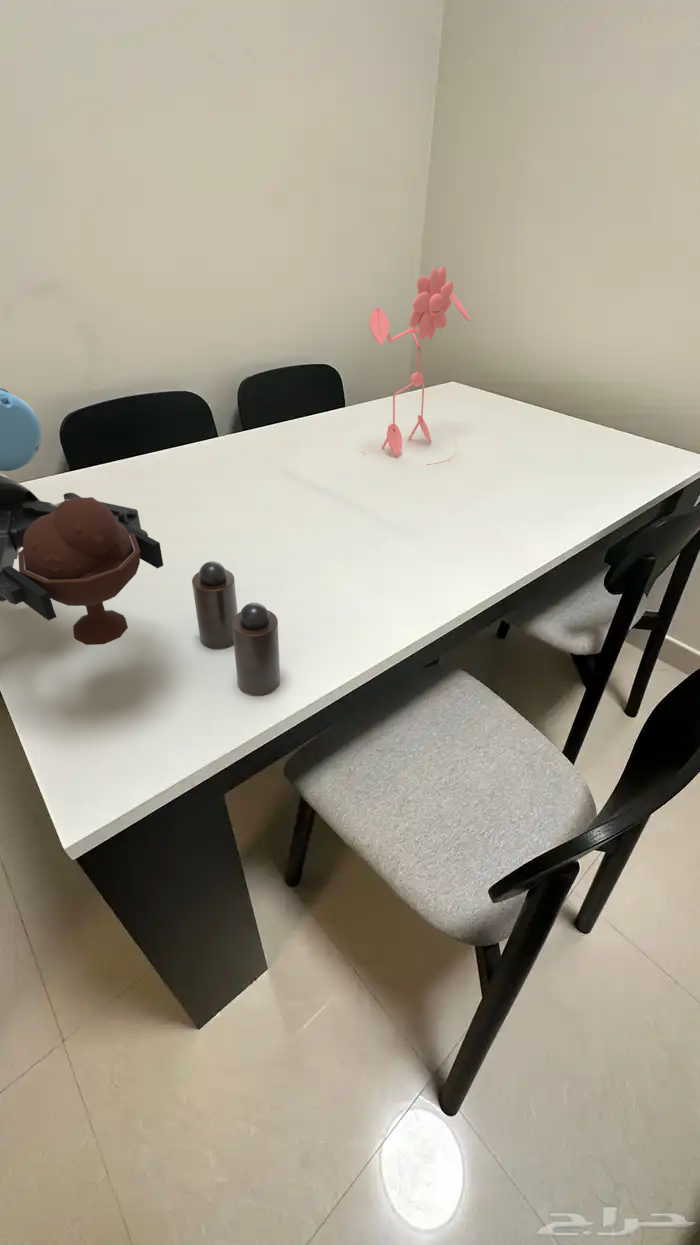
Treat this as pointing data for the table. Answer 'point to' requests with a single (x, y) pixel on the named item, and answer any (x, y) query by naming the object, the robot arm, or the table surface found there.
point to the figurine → (428, 316)
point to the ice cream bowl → (82, 563)
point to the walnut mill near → (256, 649)
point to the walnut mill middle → (215, 604)
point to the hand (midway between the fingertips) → (107, 579)
